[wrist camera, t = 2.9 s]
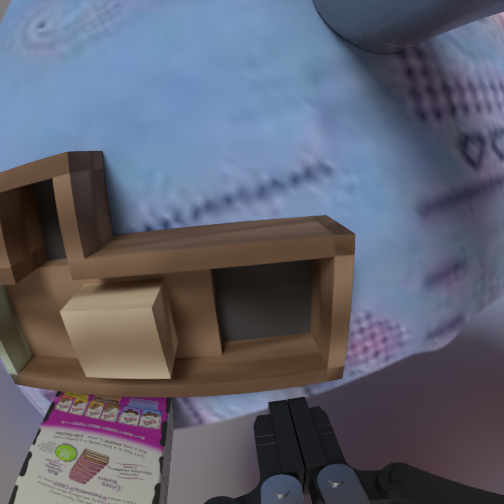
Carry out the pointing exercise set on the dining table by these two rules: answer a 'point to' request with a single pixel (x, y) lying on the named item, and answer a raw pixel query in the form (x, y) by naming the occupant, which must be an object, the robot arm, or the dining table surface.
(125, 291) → the maple block
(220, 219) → the dining table surface
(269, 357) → the tray
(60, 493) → the candy bar box
